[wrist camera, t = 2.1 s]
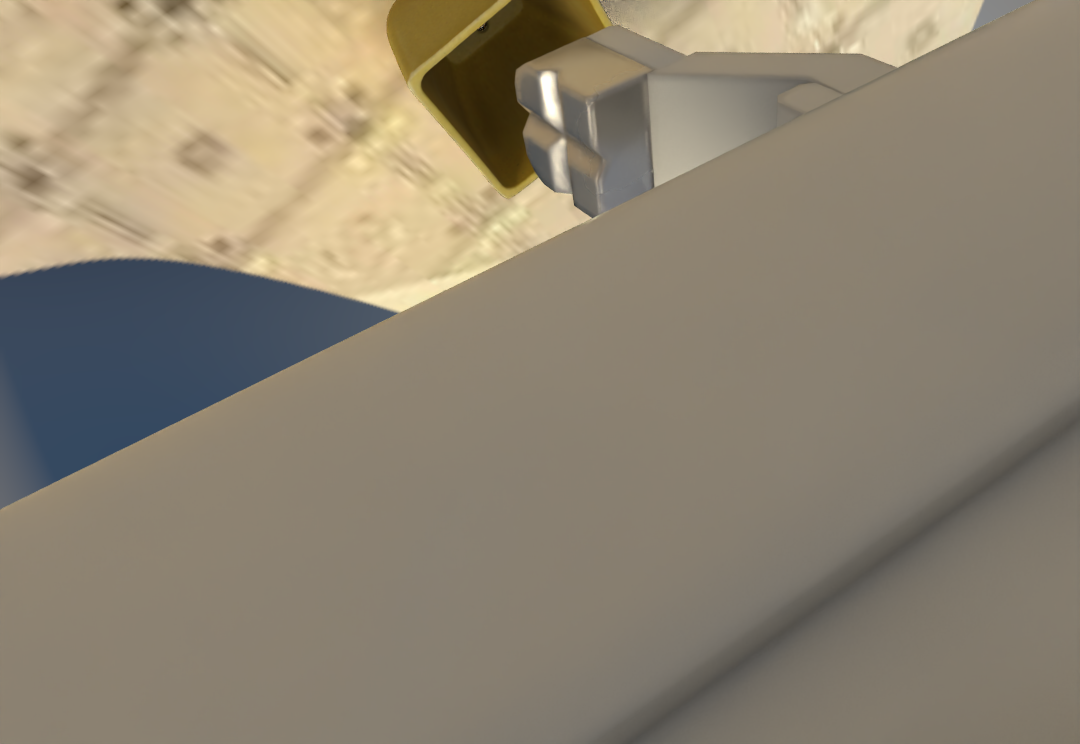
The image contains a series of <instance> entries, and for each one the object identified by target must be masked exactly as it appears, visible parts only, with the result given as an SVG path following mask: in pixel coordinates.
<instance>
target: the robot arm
mask: <svg viewBox="0 0 1080 744" xmlns="http://www.w3.org/2000/svg"><path fill="white" fill-rule="evenodd" d="M515 88H516V95H517V101H518V103H519V104H520V105H522V106H523V107H524V108H525V109H526V110H527V111H528V112H529V113H530V114H529V117H528V119H527V122H526V125H525V128H524V130H523V137H524V142H525V147H526V152H527V156H528V158H529V160H530V163H531V165H532V167H533V169H534V171H535V173H536V175H537V176H538V177H539V178H540V180H541V181H542V182H543V183H544V184H545V185H546V186H547V187H549V188H550V189H551V190H553V191H554V192H557V193H566V194H573V200H574V206H576V207H577V208H578V209H580V210H581V211H583V212H584V213H586V214H587V215H589V216H590V217H592V219H590V220H588V221H586V222H584V223H582V224H580V225H578V226H576V227H574V228H572V229H570V230H568V231H565V232H563V233H561V234H559V235H557V236H555V237H553V238H551V239H549V240H547V241H545V242H543V243H541V244H539V245H537V246H535V247H533V248H531V249H529V250H527V251H525V252H523V253H521V254H519V255H517V256H515V257H513V258H511V259H509V260H506V261H504V262H502V263H500V264H498V265H496V266H494V267H492V268H490V269H488V270H486V271H484V272H482V273H480V274H478V275H476V276H474V277H472V278H470V279H468V280H466V281H464V282H462V283H460V284H458V285H456V286H454V287H452V288H450V289H447V290H445V291H443V292H441V293H439V294H437V295H435V296H433V297H431V298H429V299H427V300H425V301H423V302H421V303H419V304H417V305H415V306H413V307H411V308H409V309H407V310H405V311H403V312H401V313H399V314H397V315H395V316H393V317H391V318H388V319H387V320H385V321H383V322H381V323H378V324H376V325H374V326H372V327H370V328H368V329H366V330H364V331H362V332H360V333H358V334H356V335H354V336H352V337H350V338H348V339H346V340H344V341H342V342H340V343H338V344H336V345H334V346H332V347H329V348H328V349H325V350H323V351H322V352H319V353H317V354H315V355H313V356H311V357H309V358H307V359H305V360H303V361H301V362H299V363H297V364H295V365H293V366H291V367H289V368H287V369H285V370H283V371H281V372H279V373H277V374H275V375H273V376H271V377H269V378H266V379H265V380H263V381H260V382H258V383H256V384H254V385H252V386H250V387H248V388H246V389H245V390H242V391H240V392H238V393H236V394H234V395H232V396H230V397H228V398H226V399H224V400H222V401H220V402H218V403H216V404H214V405H212V406H209V407H207V408H206V409H203V410H201V411H199V412H197V413H195V414H194V415H191V416H189V417H187V418H185V419H183V420H181V421H179V422H177V423H175V424H173V425H171V426H169V427H167V428H165V429H163V430H161V431H159V432H157V433H155V434H153V435H150V436H148V437H146V438H144V439H142V440H140V441H138V442H136V443H134V444H132V445H130V446H128V447H126V448H124V449H122V450H120V451H118V452H116V453H114V454H112V455H110V456H108V457H106V458H104V459H102V460H100V461H98V462H96V463H94V464H92V465H90V466H88V467H86V468H83V469H81V470H79V471H77V472H75V473H73V474H71V475H69V476H67V477H65V478H63V479H61V480H59V481H57V482H55V483H53V484H51V485H49V486H47V487H45V488H43V489H41V490H39V491H37V492H35V493H33V494H31V495H28V496H26V497H24V498H22V499H20V500H18V501H16V502H14V503H12V504H10V505H8V506H6V507H4V508H2V509H0V744H1080V0H1034V1H1032V2H1030V3H1028V4H1026V5H1024V6H1022V7H1020V8H1018V9H1016V10H1014V11H1012V12H1010V13H1008V14H1006V15H1004V16H1002V17H1000V18H998V19H996V20H994V21H992V22H990V23H987V24H985V25H983V26H981V27H979V28H977V29H975V30H973V31H971V32H969V33H967V34H965V35H963V36H961V37H959V38H957V39H955V40H953V41H951V42H949V43H947V44H945V45H943V46H941V47H939V48H937V49H935V50H933V51H931V52H929V53H927V54H925V55H922V56H920V57H918V58H916V59H914V60H912V61H910V62H908V63H906V64H904V65H902V66H900V67H898V68H897V67H894V66H892V65H889V64H886V63H884V62H881V61H879V60H876V59H873V58H871V57H868V56H866V55H863V54H832V53H733V52H695V53H693V54H691V55H688V56H686V55H684V54H682V53H679V52H677V51H675V50H673V49H670V48H668V47H666V46H664V45H661V44H659V43H657V42H655V41H652V40H650V39H648V38H646V37H644V36H641V35H639V34H637V33H635V32H632V31H630V30H628V29H626V28H623V27H621V26H619V25H614V26H608V27H606V28H604V29H602V30H600V31H598V32H596V33H594V34H592V35H589V36H587V37H583V38H581V39H579V40H576V41H574V42H572V43H570V44H567V45H565V46H563V47H561V48H558V49H556V50H554V51H552V52H550V53H547V54H545V55H543V56H541V57H538V58H536V59H534V60H532V61H530V62H527V63H525V64H523V65H522V66H521V67H519V68H518V69H517V70H516V76H515Z"/></svg>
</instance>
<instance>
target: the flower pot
mask: <svg viewBox="0 0 1080 744" xmlns="http://www.w3.org/2000/svg"><path fill="white" fill-rule="evenodd" d="M485 22H486V23H487V25H486V28H485V29H484V30H482V31H480V30H478V28H479V27H481V26H482V25H483V24H484V23H485ZM608 26H613V25H612V23H611V21H610V19H609V17H608V16H607V14H606V12H605V10H604V8H603V6H602V5H601V3H600V1H599V0H396V1H395V3H394V4H393V6H392V7H391V9H390V11H389V14H388V18H387V35H388V39H389V43H390V45H391V48H392V50H393V53H394V55H395V57H396V60H397V62H398V65H399V67H400V70H401V72H402V74H403V76H404V78H405V81H406V83H407V85H408V88H409V89H410V91H411V92H412V93H413V95H414V96H415V97H416V98H417V99H418V100H419V101H420V102H421V103H422V104H423V106H424V107H425V108H426V109H427V110H428V111H429V112H430V114H431V115H432V116H433V117H434V118H435V119H436V120H437V122H438V123H439V124H440V125H441V126H442V127H443V128H444V129H445V131H446V132H447V133H448V134H449V135H450V136H451V138H452V139H453V140H454V141H455V142H456V144H457V145H458V146H459V147H460V148H461V149H462V150H463V152H464V153H465V154H466V155H467V156H468V157H469V159H470V160H471V161H472V162H473V163H474V164H475V166H476V167H477V168H478V169H479V170H480V172H481V173H482V174H483V175H484V177H485V178H486V179H487V180H488V182H489V183H490V184H491V185H492V186H493V187H494V189H495V190H496V191H497V192H498V193H499V194H500V195H501V196H503V197H505V198H507V199H509V198H512V197H513V196H515V195H516V194H518V193H519V192H521V191H522V190H523V189H524V188H526V187H527V186H528V185H530V184H531V183H532V182H533V181H535V180H536V179H537V178H538V176H537V175H536V173H535V171H534V169H533V167H532V165H531V163H530V160H529V158H528V156H527V152H526V147H525V142H524V137H523V130H524V128H525V125H526V122H527V119H528V117H529V114H530V113H529V112H528V111H527V110H526V109H525V108H524V107H523V106H522V105H520V104H519V103H518V101H517V95H516V88H515V76H516V70H517V69H518V68H519V67H521V66H522V65H523V64H525V63H527V62H530V61H532V60H534V59H536V58H538V57H541V56H543V55H545V54H547V53H550V52H552V51H554V50H556V49H558V48H561V47H563V46H565V45H567V44H570V43H572V42H574V41H576V40H579V39H581V38H583V37H587V36H589V35H592V34H594V33H596V32H598V31H600V30H602V29H604V28H606V27H608Z"/></svg>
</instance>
